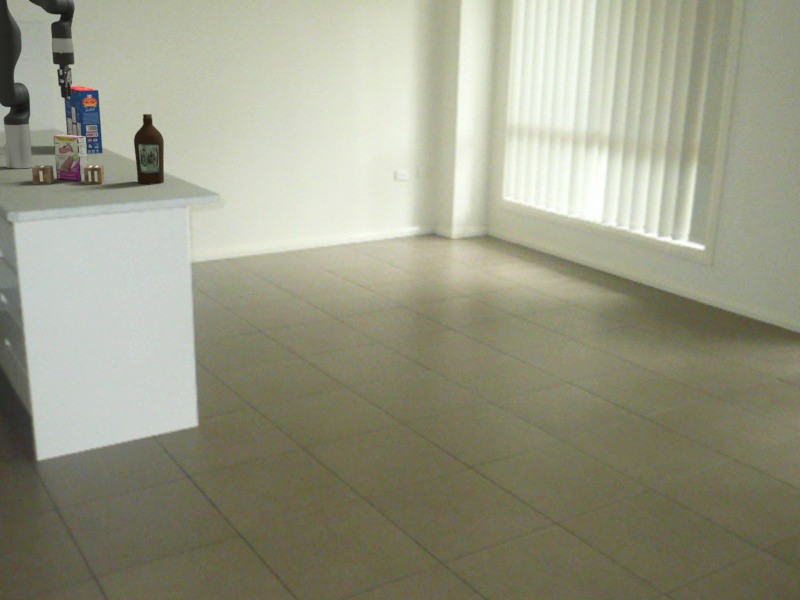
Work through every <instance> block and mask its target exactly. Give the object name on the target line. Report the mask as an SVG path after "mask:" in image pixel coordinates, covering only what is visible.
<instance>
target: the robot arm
mask: <svg viewBox="0 0 800 600" xmlns="http://www.w3.org/2000/svg"><path fill="white" fill-rule="evenodd" d="M28 1H29V2H30V3H32V4H33V5H35V6H38V7H40V8H41V9H43V10H44V11H45V12H46V13H47V14H49V15H57V16H58V15H59V16H60V17H59V20H56V21H53V22H52V23H51V24H50V30H51V31H50V33H51V52H52V53H51V54H52V64H53V65H57V66H58V67H59V68H57V70H56V72H57V79H58V80H57V81H58V86H59V88H60V96H61V98H63V99H64V98H67V97H68V96H71V87H72V84H73V79H72V68H71V67H70V66H72V65H75V52H74V51H75V50H74V49H75V48H74V43H73V35H72V33H73V32H72V26H73V19H74V14H75V2H74V0H28ZM10 11H11V10H10V9H9V6H8V0H0V105H1V106H2V107H5V108H10V109H9V112H8V113H7V114H6V115H5V116H4V117H3V128H4V135H5V136H4V137H5V143H4V152H5V153H4V154H5V161H6V162H5V163H6V169H29V168H33V167H34V163H33V162H34V161H33V154H32V142H31V131H30V117H31V99H30V98H31V97H30V92H29V89H28V87H27V86H26V85H25V84H24V83H22V82H15V68H16V66H17V64H18V61H19V59H20V56H21V53H22V48H23V46H22V31H21V28H20V26H19V24H18V23H17V21H16V20H15V18H14V16H13V14H12V13H11V12H10Z"/></svg>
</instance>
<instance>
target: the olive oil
mask: <svg viewBox="0 0 800 600" xmlns="http://www.w3.org/2000/svg"><path fill="white" fill-rule="evenodd" d="M142 116H143V117H142V126H141V127H140V128H139V129H138V130H137V131H136V133H135V135H134V137H133V144H134V145H133V146H134V147H133V148H134V153H135V154H134V156H135V163H136V164H135V165H136V176H137V183H138V184H141V185H158V184H164V181H165V170H164V166H165V165H164V163H165V161H164V160H165V159H164V157H165V156H164V155H165V154H164V146H165V142H164V138H163V135H162V133H161V132H160V131H159V130H158V129H157V128H156V126H154V124H153V114H151V113H145V114H142Z"/></svg>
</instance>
